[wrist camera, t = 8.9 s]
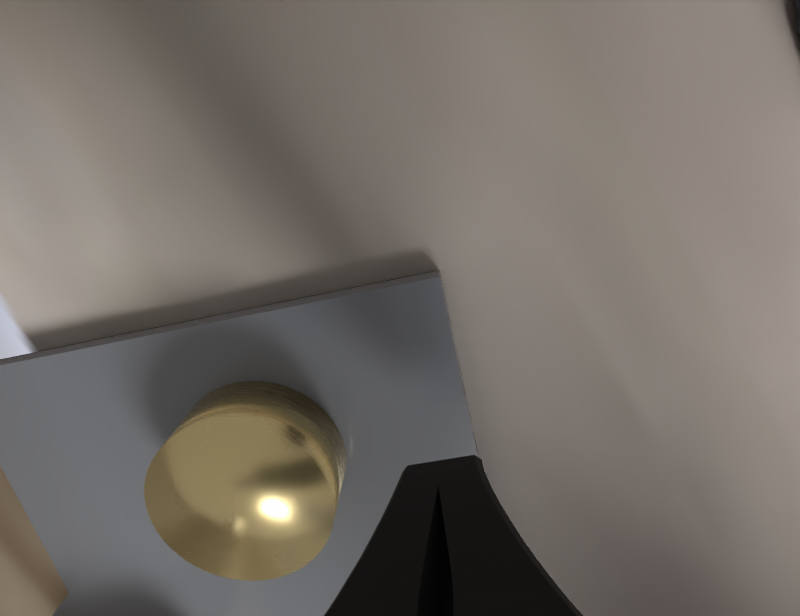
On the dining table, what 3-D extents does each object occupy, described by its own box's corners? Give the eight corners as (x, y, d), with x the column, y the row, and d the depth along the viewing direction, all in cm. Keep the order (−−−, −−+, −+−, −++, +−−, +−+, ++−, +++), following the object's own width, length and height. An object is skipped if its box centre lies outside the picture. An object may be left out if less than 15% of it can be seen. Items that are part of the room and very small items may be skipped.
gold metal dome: (321, 366, 12) (303, 407, 11) (364, 510, 14) (355, 567, 12) (156, 397, 13) (114, 440, 11) (212, 533, 14) (182, 591, 12)
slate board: (439, 270, 12) (439, 276, 11) (546, 781, 17) (549, 800, 17) (-152, 390, 14) (-172, 400, 13) (111, 819, 19) (103, 836, 19)
